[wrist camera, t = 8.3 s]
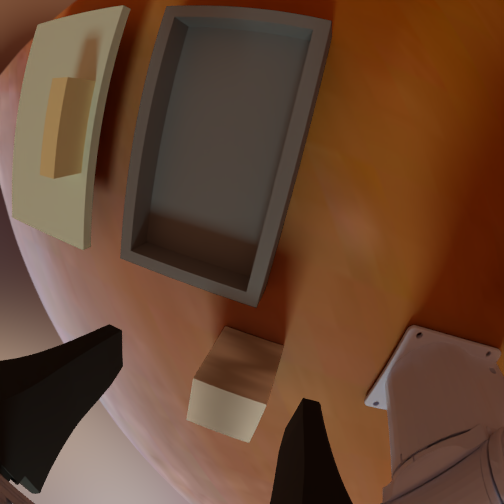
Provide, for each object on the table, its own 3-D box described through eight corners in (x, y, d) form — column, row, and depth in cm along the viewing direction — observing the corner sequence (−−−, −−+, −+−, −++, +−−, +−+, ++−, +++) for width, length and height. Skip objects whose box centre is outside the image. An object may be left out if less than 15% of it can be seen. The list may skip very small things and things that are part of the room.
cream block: (284, 345, 22) (266, 404, 16) (267, 386, 23) (249, 442, 18) (225, 325, 22) (193, 378, 17) (215, 368, 24) (186, 419, 18)
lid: (130, 8, 14) (98, -7, 11) (90, 246, 20) (58, 262, 17) (44, 26, 15) (15, 20, 12) (19, 215, 21) (-9, 225, 18)
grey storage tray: (331, 36, 14) (331, 20, 12) (265, 289, 20) (256, 307, 18) (184, 18, 16) (166, 6, 13) (140, 246, 22) (120, 258, 20)
